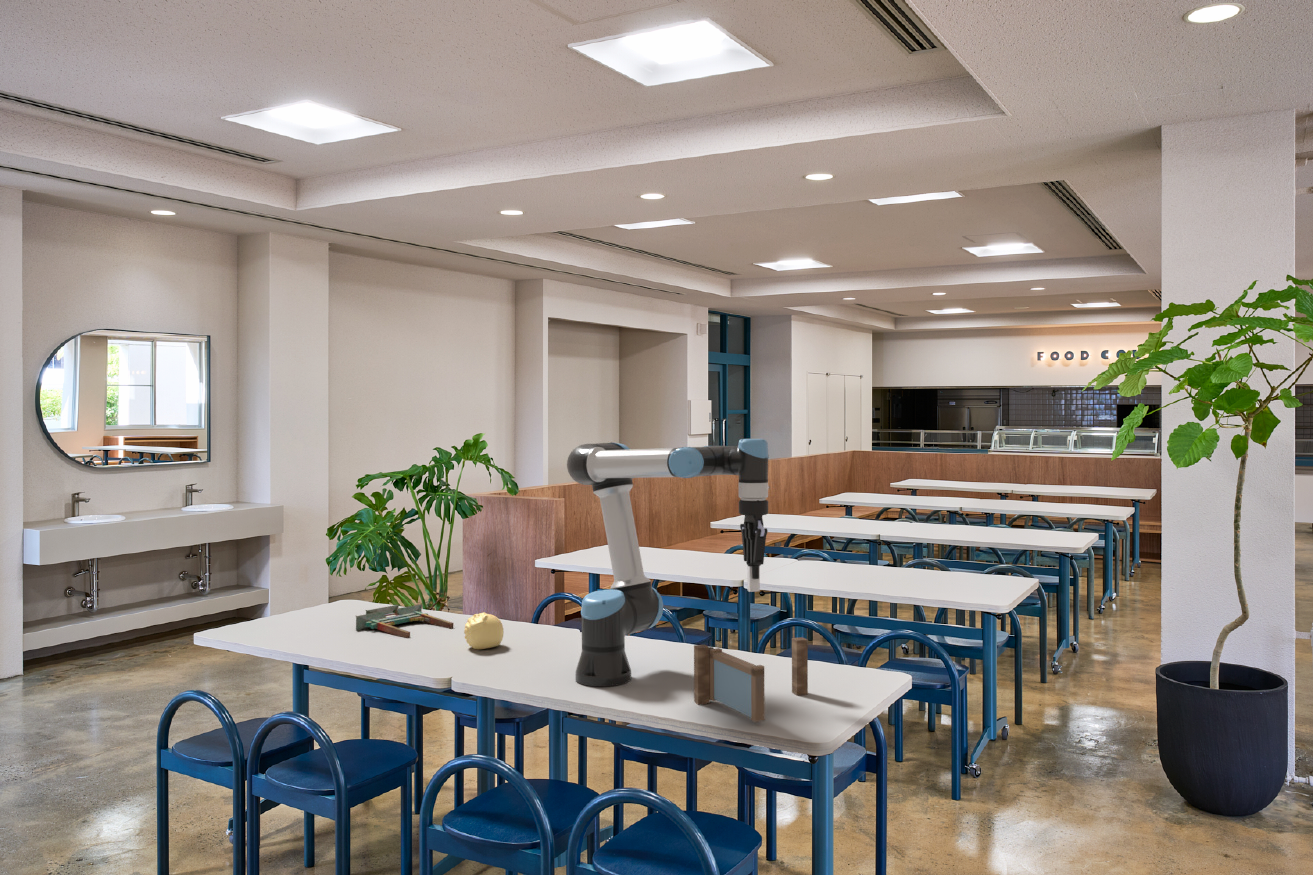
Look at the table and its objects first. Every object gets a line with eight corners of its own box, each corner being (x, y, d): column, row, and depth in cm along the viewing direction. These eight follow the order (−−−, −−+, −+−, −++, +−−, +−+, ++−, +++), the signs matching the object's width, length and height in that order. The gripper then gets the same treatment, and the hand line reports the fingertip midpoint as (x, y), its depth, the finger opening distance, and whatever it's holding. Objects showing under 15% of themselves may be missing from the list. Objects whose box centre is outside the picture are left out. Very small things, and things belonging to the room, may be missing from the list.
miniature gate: (396, 629, 306) (343, 611, 325) (396, 646, 306) (343, 627, 325) (462, 616, 327) (409, 599, 346) (462, 632, 327) (409, 614, 346)
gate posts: (698, 704, 235) (697, 648, 235) (694, 701, 238) (693, 645, 238) (807, 694, 243) (807, 639, 243) (802, 691, 246) (802, 637, 246)
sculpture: (462, 644, 300) (462, 610, 300) (501, 641, 303) (500, 608, 303) (465, 653, 289) (465, 617, 289) (505, 650, 292) (505, 615, 292)
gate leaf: (709, 699, 236) (709, 649, 235) (719, 697, 237) (718, 648, 237) (755, 721, 218) (754, 667, 218) (764, 719, 219) (764, 666, 219)
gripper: (777, 500, 239) (777, 594, 239) (757, 496, 251) (757, 585, 252) (749, 501, 237) (749, 596, 237) (730, 497, 249) (730, 587, 250)
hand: (753, 590), depth 244 cm, fingers closed
